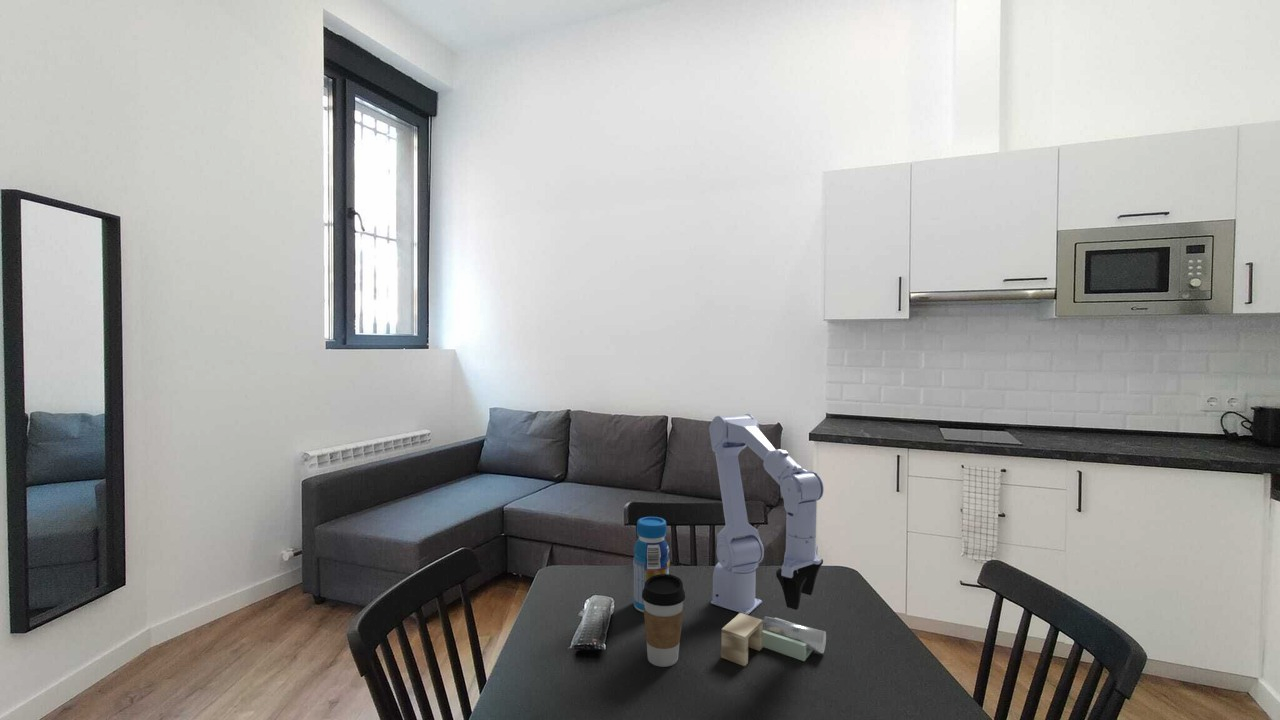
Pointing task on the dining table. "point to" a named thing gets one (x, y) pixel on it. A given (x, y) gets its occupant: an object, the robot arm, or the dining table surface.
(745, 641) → the wooden bridge block
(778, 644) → the cradle
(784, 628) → the axle
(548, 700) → the dining table surface
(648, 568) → the beverage bottle
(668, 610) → the coffee cup
